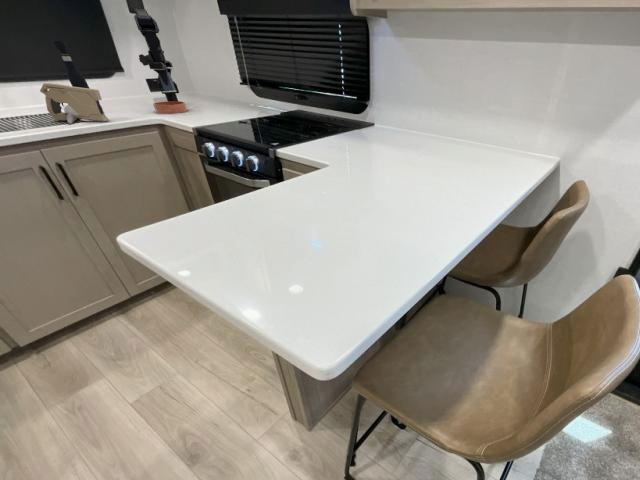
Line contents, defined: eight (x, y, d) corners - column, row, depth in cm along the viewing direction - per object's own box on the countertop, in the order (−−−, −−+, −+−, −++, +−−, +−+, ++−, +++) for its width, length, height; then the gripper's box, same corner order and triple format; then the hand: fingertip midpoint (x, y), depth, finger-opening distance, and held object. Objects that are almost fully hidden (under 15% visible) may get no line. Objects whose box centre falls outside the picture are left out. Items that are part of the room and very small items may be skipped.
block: (166, 90, 177) (160, 72, 172) (175, 89, 178) (169, 72, 173) (164, 90, 173) (157, 72, 168) (173, 90, 174) (167, 72, 169)
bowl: (160, 109, 185) (157, 101, 182) (190, 109, 188) (187, 100, 186) (152, 114, 173) (149, 105, 171) (184, 113, 177) (181, 104, 174)
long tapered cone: (80, 113, 149) (77, 103, 159) (62, 116, 146) (61, 105, 157) (88, 126, 153) (85, 115, 163) (72, 129, 150) (70, 118, 161)
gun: (51, 120, 153) (33, 82, 144) (57, 119, 155) (39, 81, 146) (107, 126, 155) (93, 89, 146) (112, 125, 158) (98, 89, 149)
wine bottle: (83, 113, 171) (45, 40, 152) (96, 111, 175) (61, 40, 157) (91, 114, 169) (54, 40, 150) (104, 112, 173) (70, 41, 155)
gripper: (142, 47, 170) (156, 83, 179) (130, 47, 156) (145, 86, 165) (166, 47, 172) (178, 83, 182) (156, 48, 158) (169, 86, 168)
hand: (168, 84), depth 174 cm, fingers closed on block, 4 cm apart
